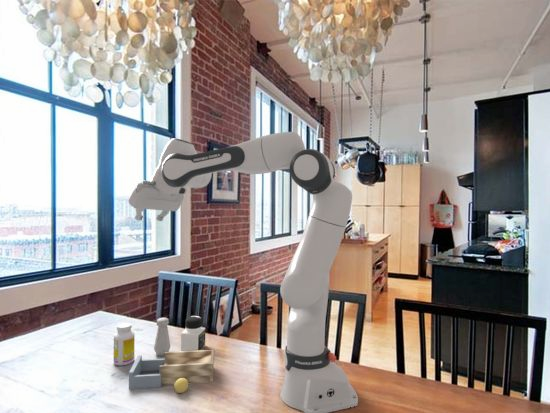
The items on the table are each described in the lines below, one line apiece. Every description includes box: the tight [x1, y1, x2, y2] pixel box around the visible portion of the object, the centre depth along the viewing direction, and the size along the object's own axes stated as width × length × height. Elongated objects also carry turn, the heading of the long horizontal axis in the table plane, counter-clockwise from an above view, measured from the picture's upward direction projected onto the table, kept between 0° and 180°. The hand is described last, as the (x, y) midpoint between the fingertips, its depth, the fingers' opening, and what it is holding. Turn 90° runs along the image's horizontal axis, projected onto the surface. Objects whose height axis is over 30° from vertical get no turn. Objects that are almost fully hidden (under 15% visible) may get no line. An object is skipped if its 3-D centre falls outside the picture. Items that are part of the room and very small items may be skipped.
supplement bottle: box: [113, 322, 135, 366], centre depth 117 cm, size 7×7×13 cm
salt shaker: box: [153, 317, 171, 357], centre depth 124 cm, size 6×6×13 cm
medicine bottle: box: [180, 315, 206, 351], centre depth 128 cm, size 7×7×12 cm
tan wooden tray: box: [159, 349, 215, 386], centre depth 108 cm, size 16×10×6 cm, turn 99°
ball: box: [173, 378, 189, 394], centre depth 99 cm, size 4×4×4 cm
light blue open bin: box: [128, 355, 165, 390], centre depth 106 cm, size 9×11×5 cm
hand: (148, 220), depth 114 cm, fingers open, 8 cm apart
